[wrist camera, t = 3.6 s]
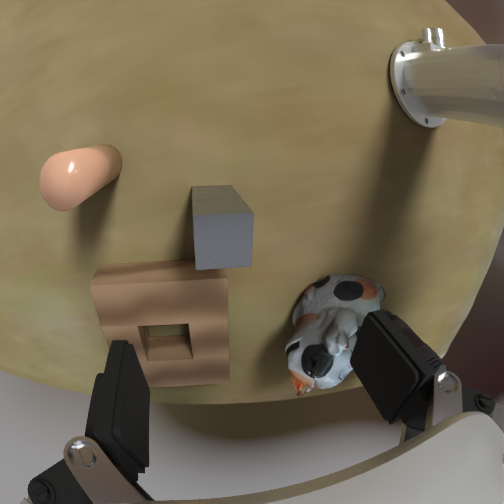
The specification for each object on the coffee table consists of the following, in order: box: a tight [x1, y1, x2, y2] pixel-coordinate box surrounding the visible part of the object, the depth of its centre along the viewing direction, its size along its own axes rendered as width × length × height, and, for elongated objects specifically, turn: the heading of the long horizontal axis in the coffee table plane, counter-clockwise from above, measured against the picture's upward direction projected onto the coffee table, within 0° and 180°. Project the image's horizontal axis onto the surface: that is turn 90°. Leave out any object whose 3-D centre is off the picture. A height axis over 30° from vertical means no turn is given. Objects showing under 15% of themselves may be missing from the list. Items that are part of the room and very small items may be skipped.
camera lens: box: [383, 311, 446, 376], centre depth 35 cm, size 8×8×15 cm
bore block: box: [89, 259, 230, 387], centre depth 30 cm, size 16×14×4 cm
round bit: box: [39, 144, 122, 211], centre depth 18 cm, size 4×4×10 cm
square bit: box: [192, 185, 254, 270], centre depth 23 cm, size 4×4×10 cm
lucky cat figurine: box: [285, 274, 386, 397], centre depth 32 cm, size 15×12×14 cm
